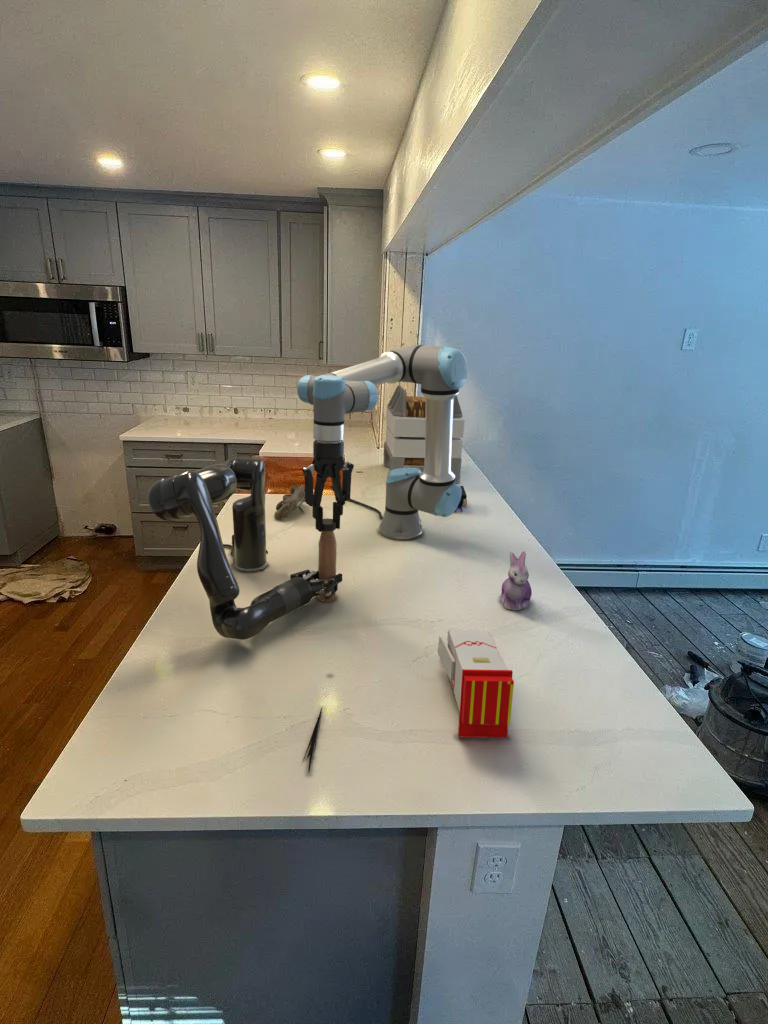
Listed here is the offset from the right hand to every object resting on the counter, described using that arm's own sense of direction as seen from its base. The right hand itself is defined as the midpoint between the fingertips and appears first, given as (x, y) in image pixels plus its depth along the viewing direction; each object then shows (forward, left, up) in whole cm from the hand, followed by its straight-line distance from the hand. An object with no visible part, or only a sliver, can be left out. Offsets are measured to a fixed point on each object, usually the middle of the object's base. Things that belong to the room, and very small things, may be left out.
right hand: (327, 528), depth 147 cm
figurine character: (-31, +86, -20) cm, 93 cm away
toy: (+51, 0, -20) cm, 55 cm away
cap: (0, 0, +2) cm, 2 cm away
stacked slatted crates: (-76, +108, -20) cm, 133 cm away
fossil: (-63, +29, -20) cm, 72 cm away
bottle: (0, 0, -20) cm, 20 cm away
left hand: (-1, +3, -14) cm, 14 cm away
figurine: (+33, +40, -20) cm, 55 cm away
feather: (+39, -29, -20) cm, 53 cm away
